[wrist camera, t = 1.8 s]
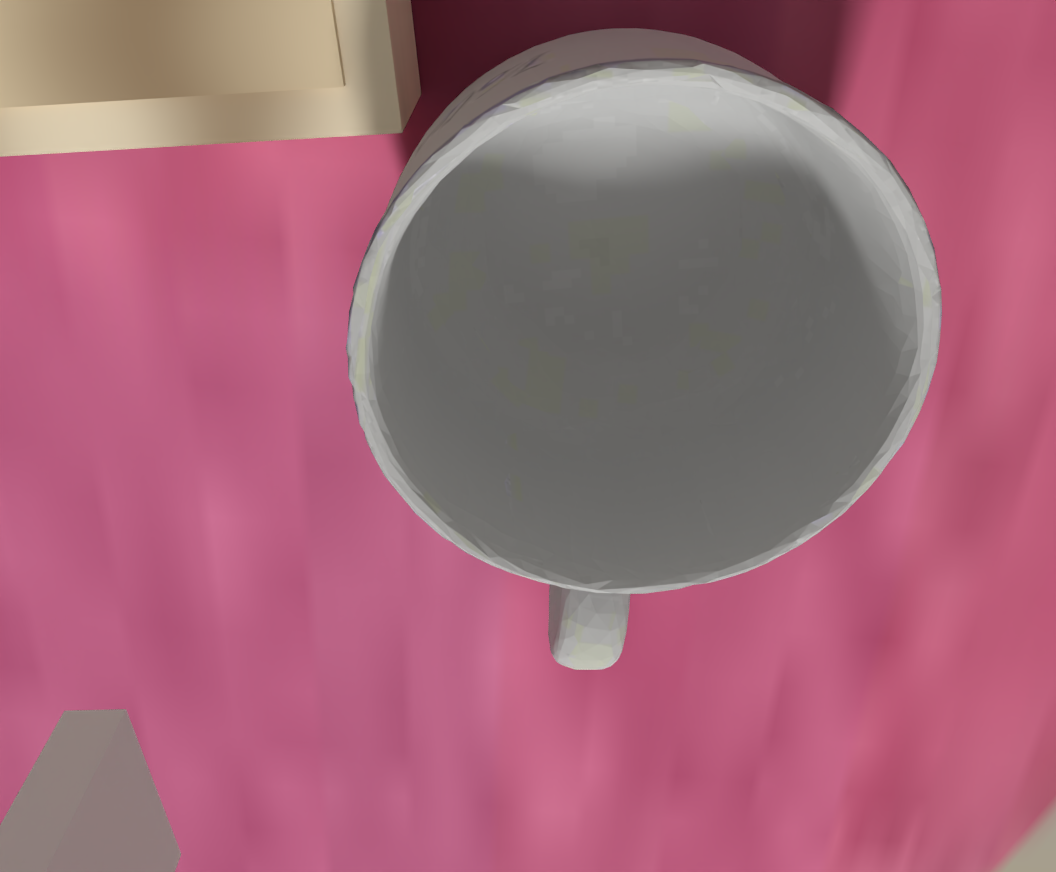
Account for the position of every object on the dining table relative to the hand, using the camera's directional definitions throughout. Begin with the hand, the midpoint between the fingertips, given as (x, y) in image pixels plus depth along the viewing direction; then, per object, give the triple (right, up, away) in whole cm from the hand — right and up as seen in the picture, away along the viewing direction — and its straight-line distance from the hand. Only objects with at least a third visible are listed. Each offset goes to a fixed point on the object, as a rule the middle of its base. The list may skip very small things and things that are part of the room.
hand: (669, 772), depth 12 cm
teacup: (0, +8, +14) cm, 16 cm away
